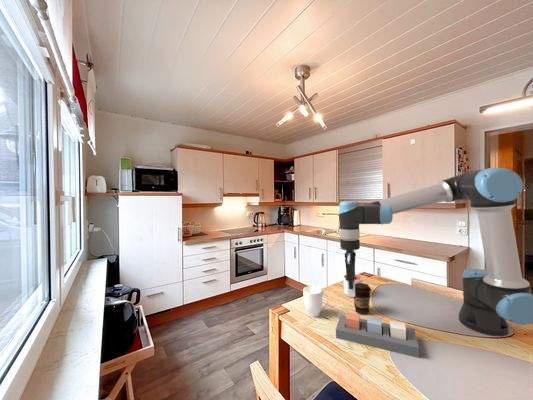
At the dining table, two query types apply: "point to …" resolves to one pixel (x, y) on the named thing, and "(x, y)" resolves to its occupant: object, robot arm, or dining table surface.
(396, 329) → the key white
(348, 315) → the key rust
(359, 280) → the cup
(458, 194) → the robot arm
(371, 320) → the key slate
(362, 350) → the dining table surface
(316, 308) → the mug
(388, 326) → the key panel
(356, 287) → the coffee cup
